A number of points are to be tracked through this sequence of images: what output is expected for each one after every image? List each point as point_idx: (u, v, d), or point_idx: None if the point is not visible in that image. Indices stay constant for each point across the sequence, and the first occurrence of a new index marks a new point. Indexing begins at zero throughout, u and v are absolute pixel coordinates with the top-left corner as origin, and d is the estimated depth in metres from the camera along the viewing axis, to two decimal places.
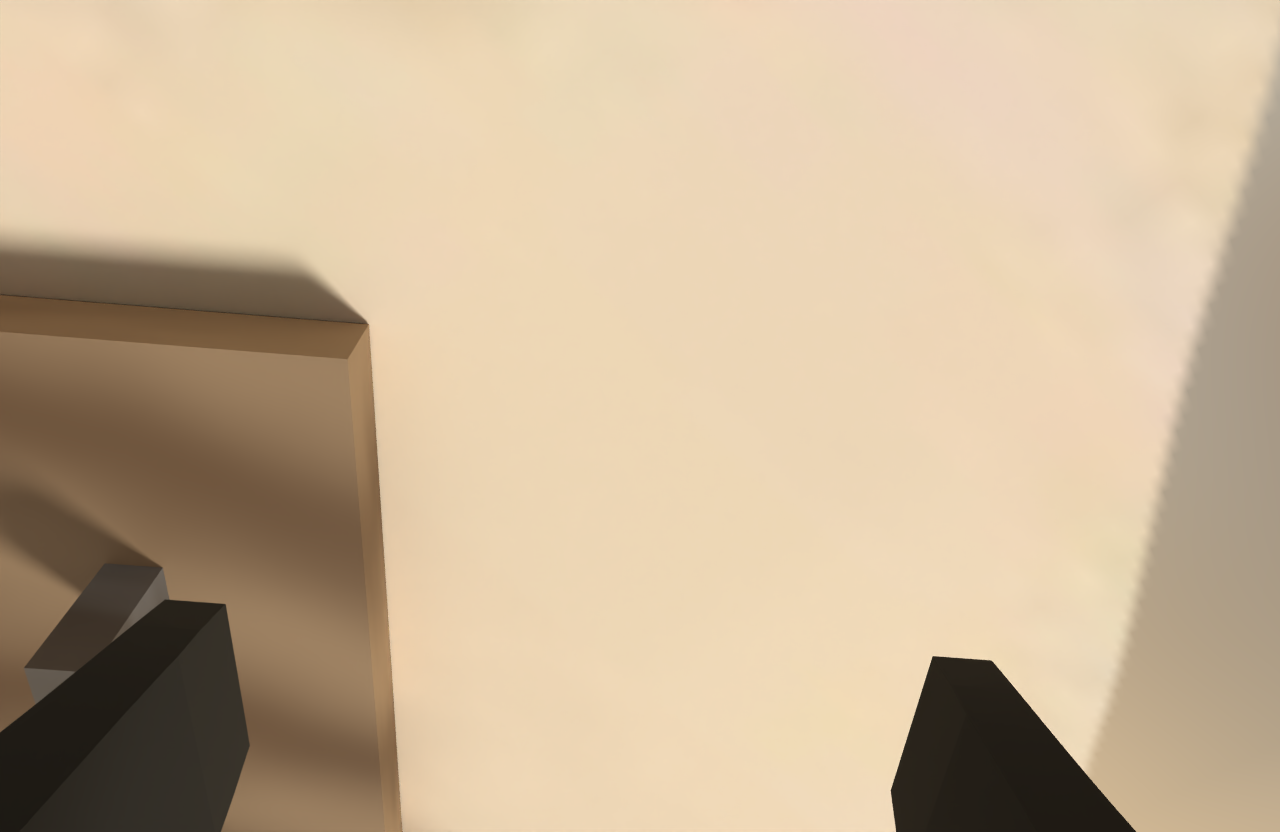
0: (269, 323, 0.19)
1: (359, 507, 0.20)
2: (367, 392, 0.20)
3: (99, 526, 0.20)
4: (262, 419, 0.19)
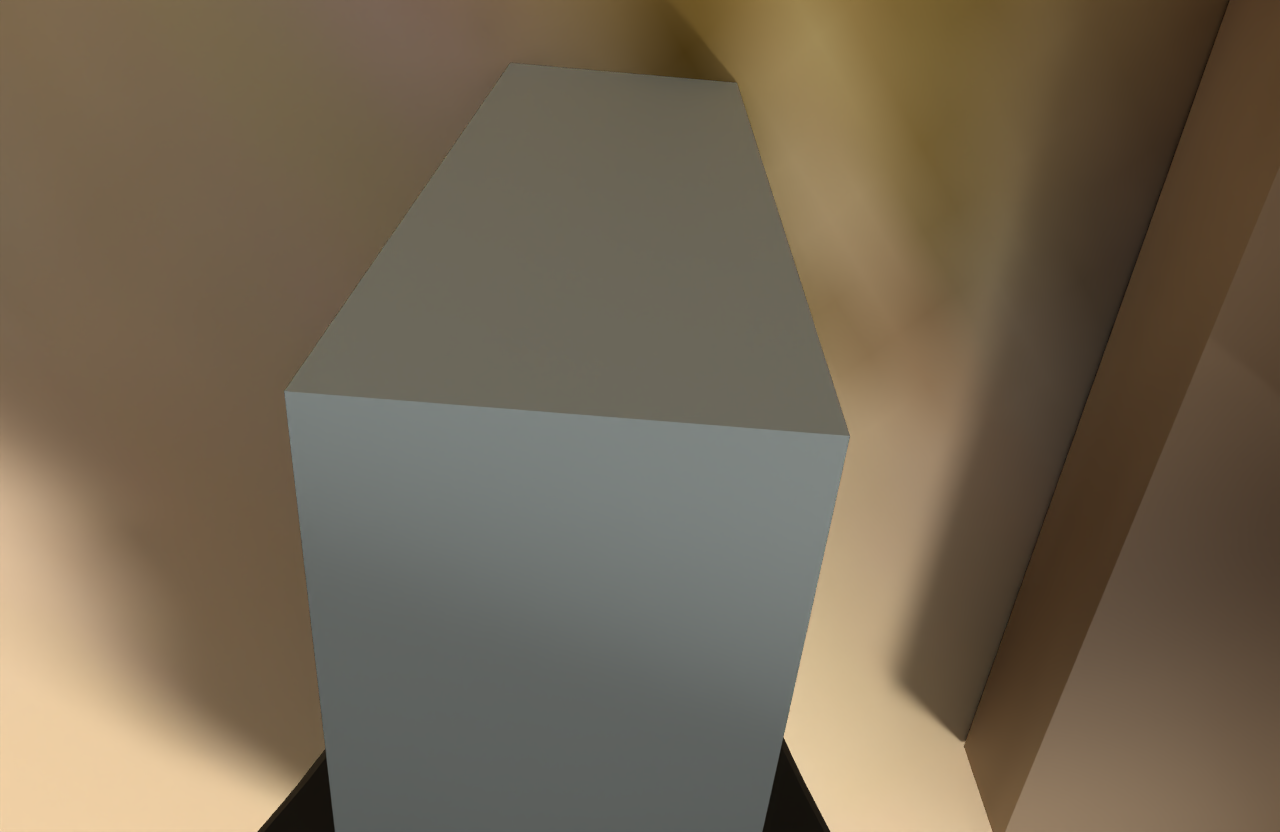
0: None
1: None
2: None
3: None
4: None
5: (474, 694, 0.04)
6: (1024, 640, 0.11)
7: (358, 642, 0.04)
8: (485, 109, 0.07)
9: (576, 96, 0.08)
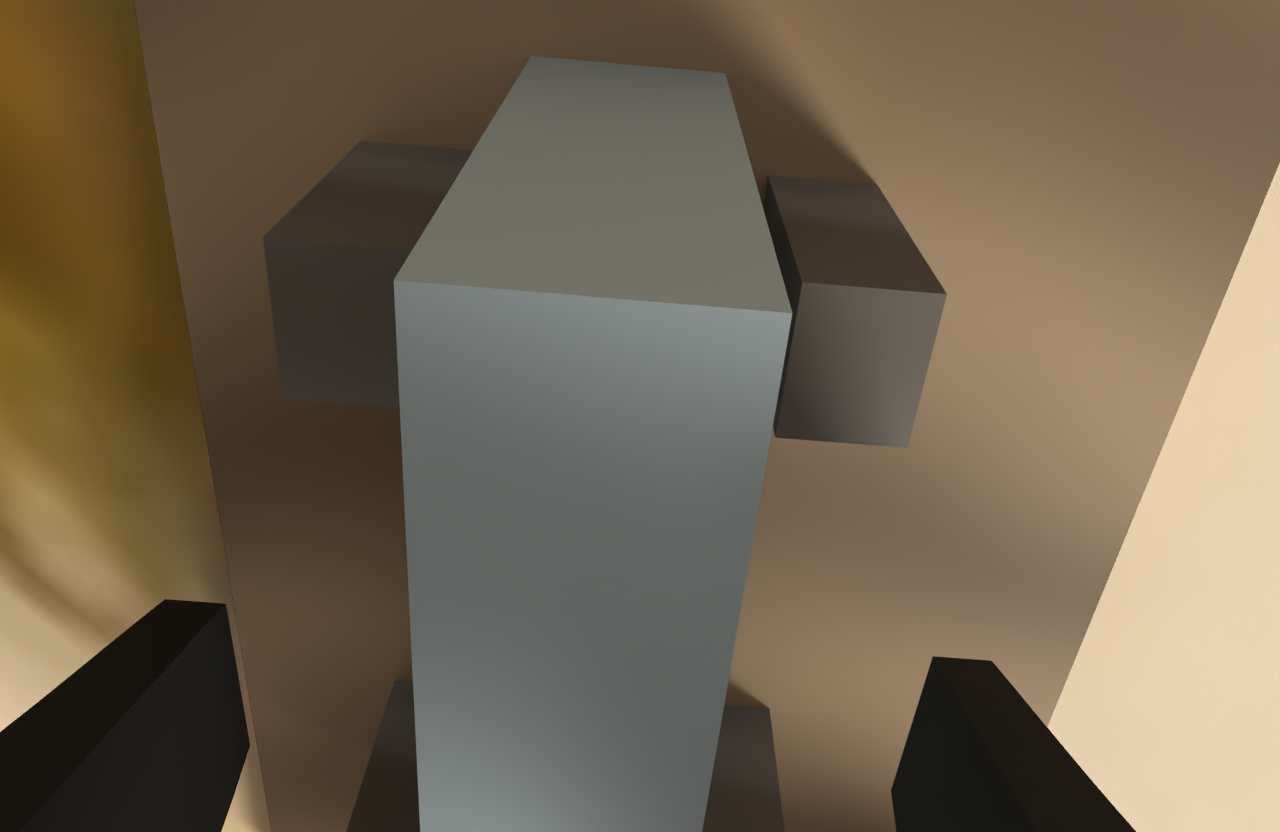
0: None
1: None
2: None
3: (787, 85, 0.10)
4: None
5: (521, 517, 0.06)
6: None
7: (436, 476, 0.05)
8: (514, 93, 0.09)
9: (588, 83, 0.09)
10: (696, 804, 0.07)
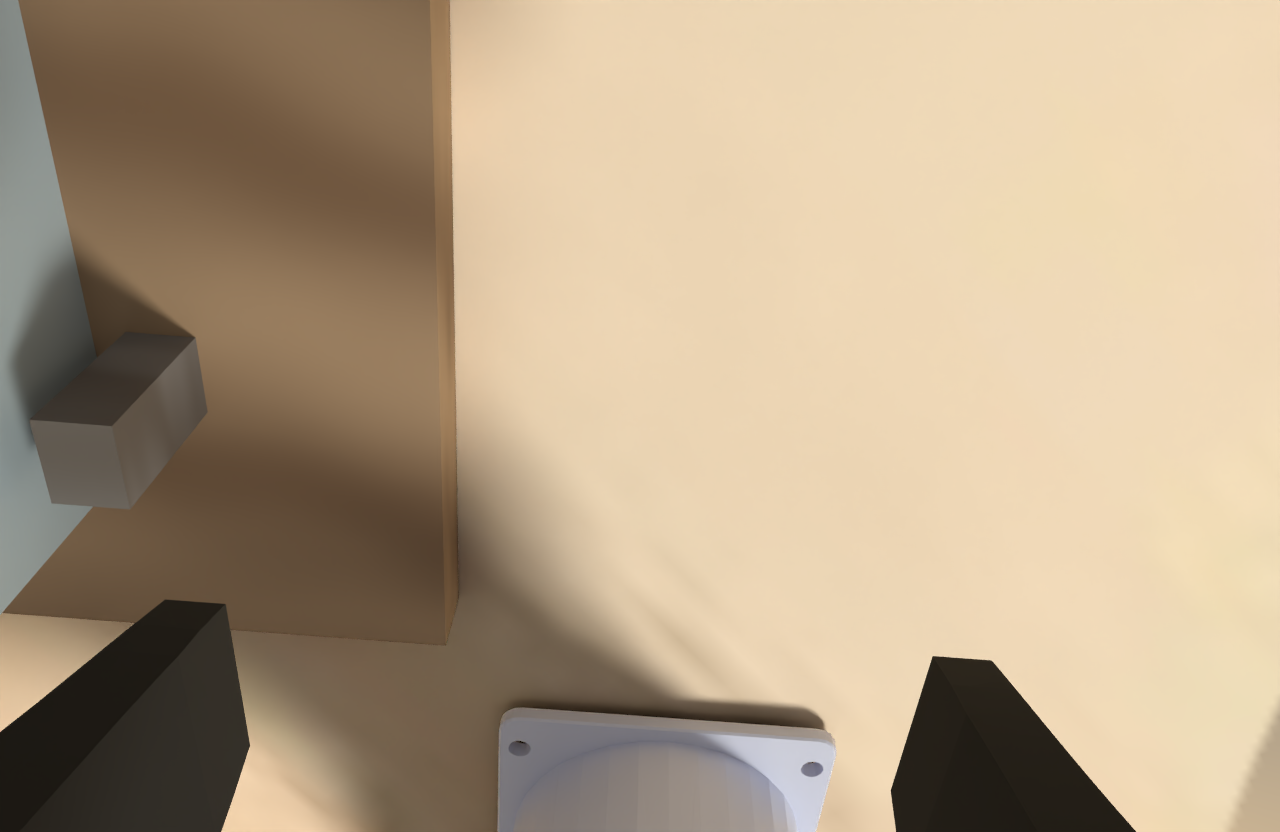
0: None
1: None
2: None
3: None
4: None
5: None
6: None
7: None
8: None
9: None
10: None
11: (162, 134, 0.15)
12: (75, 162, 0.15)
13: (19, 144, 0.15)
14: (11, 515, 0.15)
